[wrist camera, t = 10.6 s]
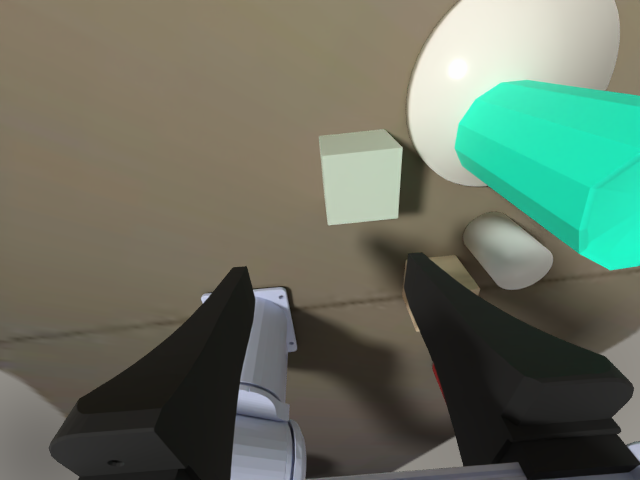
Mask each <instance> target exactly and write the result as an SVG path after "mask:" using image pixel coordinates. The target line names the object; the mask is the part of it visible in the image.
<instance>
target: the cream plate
mask: <svg viewBox="0 0 640 480" xmlns="http://www.w3.org/2000/svg"><path fill="white" fill-rule="evenodd" d="M619 42H620V23H619V15H618V10H617V7H616V3H615V0H458V1H457V2H456V3H455V4H454V5H453V6H452V7H451V8H450V9H449V10H448V12H447V13H446V14H445V15H444V16H443V17H442V18H441V20H440V21H439V22H438V24H437V25H436V26H435V27H434V29H433V30H432V32H431V33H430V35H429V37H428V38H427V40H426V41H425V43H424V45H423V47H422V49H421V51H420V53H419V55H418V57H417V60H416V62H415V65H414V68H413V70H412V73H411V77H410V81H409V85H408V90H407V97H406V122H407V128H408V133H409V137H410V139H411V142H412V144H413V147H414V148H415V150H416V152H417V153H418V155H419V156H420V157H421V159H422V160H423V161H424V162H425V163H426V164H427V165H428V166H429V167H430V168H431V169H432V170H433V171H435V172H436V173H437V174H438V175H440V176H441V177H443V178H445V179H446V180H449V181H451V182H454V183H457V184H461V185H466V186H488V185H487V184H485V183H484V182H483V181H481V180H480V179H479V178H477V177H476V176H475V175H473V174H472V173H471V172H469V171H468V170H467V169H465V168H464V167H463V166H462V165H461V162H460V160H459V158H458V155H457V153H456V151H455V148H454V147H455V142H456V136H457V130H458V125H459V122H460V121H461V119H462V118H463V117H464V115H465V114H466V112H467V111H468V109H469V108H470V106H471V105H472V103H473V102H474V101H475V99H476V98H478V97H479V96H481V95H483V94H484V93H486V92H487V91H489V90H490V89H492V88H493V87H495V86H496V85H498V84H499V83H501V82H510V81H520V80H532V81H539V82H546V83H553V84H560V85H567V86H574V87H581V88H588V89H595V90H602V91H606V89H607V87H608V84H609V82H610V79H611V76H612V74H613V71H614V67H615V63H616V60H617V56H618V49H619Z"/></svg>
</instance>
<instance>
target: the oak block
mask: <svg viewBox="0 0 640 480" xmlns="http://www.w3.org/2000/svg"><path fill="white" fill-rule="evenodd" d="M429 259H430V260H432V261H433V262H434V263H435V264H437V265H438V266H439V267H440V268H441V269H443V270H444V271H445V272H446V273H448V274H449V275H450V276H451V277H453V278H454V279H455V280H457V281H458V282H459V283H461V284H462V285H463V286H465V287H466V288H467V289H469V290H470V291H472V292H473V293H475V294H476V295H479V291H480V288H479V287H478V285H477V284H476V283H475V281H474V280H473V278H472V277H471V276H470V274H469V273H468V272H467V270H466V269H465V268H464V266H463V265H462V263H461V262H460V261H459V259H458V258H457V257H456V255H451V256H440V257H429ZM406 266H407V260H406V263H405V272H404V281H405V274H406ZM404 281H403V291H402V296H403V299H404V301H405V304H406V306H407V309H408V311H409V314H410V316H411V319H412V321H413V324H414V326H415V329H416V332H418V331H419V328H418V326H417V324H416V322H415V319H414V317H413V315H412V312H411V310H410V308H409V305H408V301H407V298H406V294H405V291H404Z"/></svg>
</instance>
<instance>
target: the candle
mask: <svg viewBox="0 0 640 480" xmlns="http://www.w3.org/2000/svg"><path fill="white" fill-rule="evenodd" d="M454 148H455V151H456V153H457V155H458V158H459V160H460V162H461V165H462V166H463V167H464V168H465V169H467V170H468V171H469V172H471V173H472V174H473V175H475V176H476V177H477V178H479V179H480V180H481V181H483V182H484V183H485V184H487V185H488V186H489V187H491V188H492V189H493V190H495V191H496V192H497V193H499V194H500V195H501V196H503V197H504V198H505V199H507V200H508V201H509V202H511V203H512V204H513V205H515V206H516V207H517V208H519V209H520V210H521V211H523V212H524V213H525V214H527V215H528V216H529V217H531V218H532V219H533V220H535V221H536V222H537V223H539V224H540V225H541V226H543V227H544V228H545V229H547V230H548V231H549V232H551V233H552V234H553V235H555V236H556V237H557V238H559V239H560V240H561V241H563V242H564V243H566V244H567V245H568V246H570V247H571V248H572V249H574V250H575V251H576V252H578V253H579V254H581V255H583V256H585V257H586V258H588V259H590V260H592V261H594V262H596V263H598V264H600V265H602V266H603V267H605V268H607V269H609V270H615V269H622V268H629V267H635V266H640V96H637V95H630V94H623V93H616V92H609V91H602V90H595V89H588V88H581V87H574V86H567V85H560V84H553V83H546V82H539V81H532V80H520V81H510V82H501V83H499V84H498V85H496V86H495V87H493V88H492V89H490V90H489V91H487V92H486V93H484V94H483V95H481V96H479V97H478V98H476V99H475V101H474V102H473V103H472V105H471V106H470V108H469V109H468V111H467V112H466V114H465V115H464V117H463V118H462V119H461V121H460V122H459V125H458V130H457V136H456V142H455V147H454Z"/></svg>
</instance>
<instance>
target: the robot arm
mask: <svg viewBox="0 0 640 480" xmlns="http://www.w3.org/2000/svg"><path fill="white" fill-rule="evenodd" d="M404 291H405V294H406V298H407V301H408V305H409V308H410V310H411V312H412V315H413V317H414V319H415V322H416V324H417V326H418V328H419V331H420V333H421V335H422V337H423V339H424V342H425V344H426V346H427V348H428V351H429V353H430V355H431V358H432V361H433V363H434V366H435V369H436V372H437V375H438V378H439V381H440V385H441V388H442V391H443V394H444V398H445V401H446V404H447V407H448V411H449V414H450V418H451V421H452V425H453V428H454V432H455V436H456V439H457V443H458V447H459V451H460V455H461V459H462V462H463V467H452V468H439V469H428V470H415V471H403V472H390V473H377V474H365V475H352V476H340V477H327V478H315V479H305V476H306V447H305V441H304V437H303V435H302V433H301V430H300V427H299V425H298V424H297V422H296V421H294V420H289V408H290V405H289V404H286V403H285V397H286V380H287V362H288V352H294V351H296V350H297V343H296V338H295V332H294V327H293V322H292V317H291V312H290V307H289V302H288V297H287V292H286V289H285V288H283V287H276V288H265V289H253V288H252V284H251V281H250V277H249V273H248V269H247V266H245V267H233V268H232V269H231V270H230V272H229V273H228V274H227V275H226V277H225V278H224V279H223V280H222V282H221V283H220V284H219V285H218V286H217V288H216V289H215V290H214V291H213V292H212V293H207V294H204V295H203V296H202V298H201V300H202V303H203V304H202V305H201V306H200V307H199V308H198V309H197V310H196V311H195V313H194V314H193V315H192V316H191V317H190V318H189V319H188V320H187V321H186V322H185V323H184V324H183V325H182V326H181V327H179V328H178V329H177V330H176V331H175V332H174V333H173V334H172V335H171V336H169V337H168V338H167V339H166V340H165V341H163V342H162V343H161V344H160V345H158V346H157V347H156V348H155V349H153V350H152V351H151V352H150V353H148V354H147V355H146V356H144V357H143V358H142V359H140V360H139V361H137V362H136V363H135V364H133V365H132V366H130V367H129V368H128V369H126V370H125V371H123V372H122V373H120V374H119V375H117V376H116V377H114V378H113V379H111V380H109V381H108V382H106V383H105V384H103V385H101V386H100V387H98V388H96V389H95V390H93V391H92V392H90V393H88V394H87V395H85V396H83V397H82V398H80V399H79V400H78V402H77V403H76V404H75V406H74V408H73V409H72V411H71V412H70V414H69V415H68V417H67V418H66V420H65V421H64V423H63V425H62V426H61V428H60V429H59V431H58V432H57V434H56V435H55V437H54V439H53V440H52V441H51V443H50V446H49V451H50V453H51V456H52V457H53V458H54V459H55V460H56V461H57V462H59V463H60V464H62V465H63V466H65V467H66V468H68V469H69V470H71V471H72V472H74V473H75V474H77V475H78V476H79V479H78V480H640V441H638V442H633V443H630V444H627V445H625V444H624V442H623V441H622V440H621V439H620V437H619V436H618V435H617V434H619V433H620V432H621V429H620V427H619V426H618V425H617V424H616V422H615V421H614V420H613V419H612V418H611V417H613V416H614V415H615V414H616V413H617V412H618V411H619V410H620V409H621V408H622V407H623V406H624V405H625V404H626V403H627V402H628V401H629V400H630V398H631V397H632V394H633V391H634V387H633V385H632V383H631V382H630V381H629V380H628V379H627V378H626V377H625V376H624V375H623V374H622V373H621V372H620V371H619V370H618V369H617V368H616V367H615V366H614V365H613V364H612V363H611V362H610V361H609V360H608V359H607V358H606V357H605V356H602V355H600V354H597V353H594V352H592V351H589V350H587V349H584V348H581V347H579V346H576V345H573V344H571V343H568V342H566V341H563V340H561V339H559V338H557V337H554V336H552V335H550V334H547V333H545V332H543V331H541V330H539V329H536V328H534V327H532V326H530V325H528V324H526V323H524V322H522V321H520V320H518V319H516V318H515V317H513V316H511V315H509V314H507V313H505V312H504V311H502V310H500V309H498V308H497V307H495V306H493V305H492V304H490V303H488V302H487V301H485V300H484V299H482V298H481V297H479V296H478V295H476V294H475V293H473V292H472V291H470V290H469V289H467V288H466V287H465V286H463V285H462V284H461V283H459V282H458V281H457V280H455V279H454V278H453V277H451V276H450V275H449V274H448V273H446V272H445V271H444V270H443V269H441V268H440V267H439V266H438V265H437V264H435V263H434V262H433V261H432V260H430V259H429V258H428V257H427V256H426V255H424V254H423V253H411V254H408V259H407V266H406V274H405V281H404ZM281 295H282V296H281Z"/></svg>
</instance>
